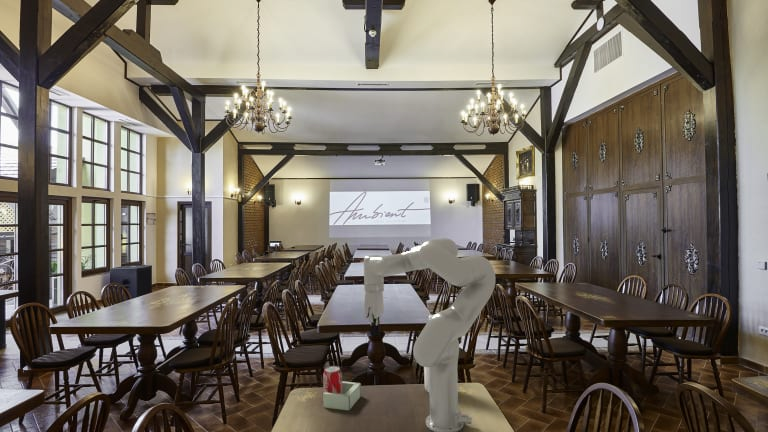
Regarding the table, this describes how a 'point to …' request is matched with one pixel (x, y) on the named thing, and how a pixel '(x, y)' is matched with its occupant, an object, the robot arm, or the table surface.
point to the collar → (343, 396)
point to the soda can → (332, 380)
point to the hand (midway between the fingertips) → (375, 334)
